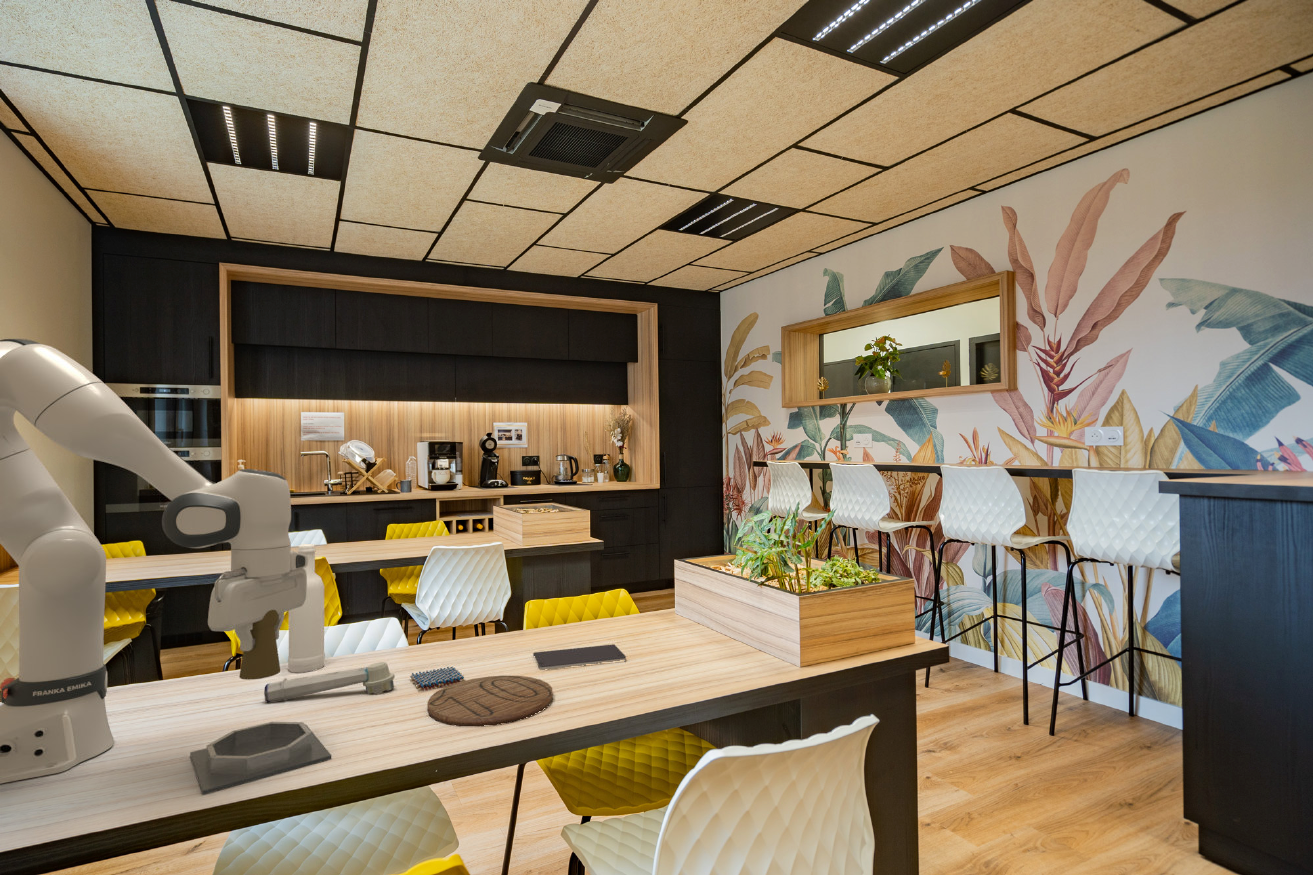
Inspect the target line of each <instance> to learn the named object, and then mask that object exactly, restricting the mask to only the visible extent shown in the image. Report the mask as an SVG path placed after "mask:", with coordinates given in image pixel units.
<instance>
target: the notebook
mask: <svg viewBox="0 0 1313 875" xmlns="http://www.w3.org/2000/svg"><path fill="white" fill-rule="evenodd" d="M532 655H533V656H535V657H534V659H535V662H536V661H537V662H536V664H537V663H538V664H537V666H538V669H539V670H540V669H541V670H545V669H555V670H559V669H558V668H564V669H566V668H565V667H571V666H582V665H586V664H598V663H602V662H613V661H620V660H625V661H626V658H627V656H626V655H625V654H624V653H623V651H621V649H619V648H618V647H617V645H616V644H613V643H612V644H603V645H594V646H586V647H575V648H567V649H566V648H565V649H554V650H546V651H544V650H543V651H535V652H533V653H532ZM582 667H583V666H582ZM541 670H540V671H541Z"/></svg>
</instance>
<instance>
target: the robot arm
mask: <svg viewBox="0 0 1313 875" xmlns="http://www.w3.org/2000/svg"><path fill="white" fill-rule="evenodd" d="M16 411H17V413H19V414H20V415H22V417H24V419H26V420H27V421H28V422H29V423H30V424H31V425H33V427H35V429H37V430H38V431H39V432H41V433H42V434H43V435H44V436H46V438H48V439H49V440H51V441H52V442H54V443H55V444H57V445H59V446H60V447H61V448H64V449H65V450H67V451H69V452H71V453H73V454H74V455H77V456H79V457H82V458H85V459H89V460H94V461H97V462H98V461H99V462H102V463H103V462H104V463H107V464H111V465H114V466H117V467H120V468H123V469H125V470H128V471H130V472H132V473H134V474H136V475H138V476H139V477H140V478H142V479H143V480H145V481H146V482H147V483H148V484H149V485H151V486H152V487H153V488H155V489H157V491H159V493H161V494H162V495H164V496H165V497H166V498H168V499H169V500H170V502H169V503H168V504H167V506H166V507H165V509H164V511H163V513H162V516H161V517H162V518H161V526H162V530H163V532H164V534H165V536H166V537H167V538H168V539H169V540H170V541H171V542H172V543H174V544H176V545H178V546H180V547H184V548H190V549H202V548H203V549H204V548H207V547H211V546H215V545H217V544H225V543H229V544H230V548H231V549H230V570H227V571H224V572H222V573H221V574H220V576H219V577H218V578H217V579H216V581H215V582H214V587H213V589H212V591H211V594H210V598H209V600H210V601H209V604H208V606H209V608H208V618H207V625H208V628H209V629H210V630H211V631H212V632H231V631H234V633H235V634H236V636H237V638H238V641H239V642H240V643H239V645H240V646H239V648H240V651H241V652H243V651H250V650H252V649H254V648H256V638H253V637H252V635H251V632H250V630H252V629H253V623H255V622H258V621H260V620H262V619H263V617H264V616H265V614H266V613H267V612H268V611H270V610H276V611H277V613H278V621H277V624H276V625H275V627H274V628H275V635H276V641H277V640H279V638H280V629H281V626H282V623H283V622H284V619H285V613H286V612H289V610H292V609H295V608H298V607H301V606H302V605H303V604H304V602H305V599H306V591H307V574H306V571H305V569H304V567H306V566H307V565H308V557H307V556H306V555H303V554H300V553H298V551H294V550H291V548H292V547H291V546H292V545H291V540H290V537H289V536H290V535H289V528H290V524H291V521H292V506H291V505H292V503H291V502H292V500H291V490H290V486H289V483H288V481H287V479H286V478H285V477H284V476H283V475H281V474H279V473H277V472H273V471H267V470H260V469H252V468H251V469H250V468H245V469H244V468H243V469H239V470H237V471H236V472H235V473H234V474H232V475H230V476H229V477H227V478H224V479H223V480H220V481H218V482H217V483H216V482H213V481H212V480H210V479H208V478H207V477H206V476H204V475H203V474H202V473H200V472H199V471H198V470H196V469H195V468H194V467H193V466H192V465H191V464H189V463H188V461H186V460H184V458H182V457H181V456H180V455H179V454H177V453H176V452H175V451H174V450H172V449H171V448H170V447H169V446H168V445H167V444H165V442H163V441H161V440H160V438H159V437H158V436H157V435H156V434H155V433H154V432H153V431H152V430H151V429H150V428H149V427H148V426H147V425H146V424H145V423H144V422H143V421H142V420H141V419H140V417H138V415H137V414H135V412H134V411H133V410H132V409H131V407H129V406H128V404H126V403H125V401H124V400H122V399H121V397H120V396H119V395H118V394H116V392H115V391H113V389H111V388H110V387H109V386H108V385H107V384H106V383H104V382H103V381H102V379H100V378H98V376H96V375H95V374H94V373H92V372H91V371H90V370H88V369H87V368H86V367H85V366H83V365H82V364H80V363H79V362H77V361H76V360H75V359H73V358H72V357H69V356H68V355H66V354H65V353H63V352H62V351H60V350H59V349H57V348H55V347H53V346H50V345H46V344H42V343H40V342H37V341H34V340H29V339H25V338H4V339H3V338H2V339H0V545H1V546H2V547H3V549H4V550H5V552H7V553H8V554H9V555H10V557H11V558H12V559H13V561H15V563H16V564H17V565H18V623H19V625H18V626H19V627H18V630H19V632H18V634H19V635H18V637H19V639H18V645H19V646H18V677H17V678H16V679H15V677H7V678H5V679H3V681H2V682H1V684H0V691H1V692H0V693H1V694H0V696H1V698H0V699H1V705H0V784H6V783H10V782H15V781H20V780H26V779H27V780H28V779H31V778H37V777H42V776H48V775H53V774H59V773H62V772H65V771H67V770H69V769H71V768H73V767H74V766H76V765H78V764H80V763H81V762H84V761H86V760H90V759H92V758H93V757H96V756H99V755H100V754H102V753H104V752H105V751H107V750H109V749H110V748H111V747H112V746H114V744H115V739H114V737H113V734H112V730H111V728H110V724H109V719H108V715H107V709H106V708H107V707H106V701H105V697H106V696H107V692H108V671H107V665H106V664H105V663H104V642H105V640H104V636H105V630H104V628H105V626H104V625H105V624H104V623H105V606H106V604H105V603H106V580H107V579H106V577H107V576H106V575H107V556H106V552H105V550H104V548H103V546H102V544H101V543H100V541H99V539H98V538H97V536H95V534H94V532H93V531H92V530H91V528H90V527H89V525H88V524H87V523H86V522H85V520H84V519H83V518H82V516H81V515H80V514H79V512H78V511H77V509H76V508H75V507H74V505H73V504H72V502H71V501H70V500H69V498H68V497H67V496H66V494H65V493H64V491H63V490H62V489H61V487H60V486H59V485H58V484H57V482H56V481H55V479H54V478H53V476H52V475H51V474H50V471H48V469H47V468H46V467H45V466H44V464H43V463H42V461H41V459H39V457H38V455H36V453H35V451H34V450H33V449H32V448H31V446H30V444H28V441H26V440H25V438H24V437H23V435H21V434H20V431H19V430H18V429H17V427H16V425H15V422H14V421H15V420H14V416H15V413H16Z"/></svg>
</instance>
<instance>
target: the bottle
mask: <svg viewBox="0 0 1313 875" xmlns="http://www.w3.org/2000/svg"><path fill="white" fill-rule="evenodd" d="M297 547H298V548H297V553H300V554H303V555H306V556H307V557H308V565H307V566H306V567H304V569H305V571H306V574H307V591H306V599H305V602H304V604H303V605H302V606H301V607H298V608H295V609H292V610H289V611H288V657H287V664H288V671H289V672H290V673H295V674H296V673H297V674H300V673H299V672H302V673H308V672H307V671H309V672H314V671H317V670H319V669H321V668H323V667H324V666H325V658H326V654H325V585H324V582H323V579H322V577H321V576H320V575H318V574H317V573H316V567H315V566H316V564H315V563H316V562H315V560H316V559H315V558H316V556H315V555H316V548H315V547H316V546H315V544H314V543H305V544H299V545H298V546H297ZM316 669H317V670H316ZM313 670H314V671H313Z"/></svg>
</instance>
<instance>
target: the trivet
mask: <svg viewBox="0 0 1313 875" xmlns="http://www.w3.org/2000/svg"><path fill="white" fill-rule="evenodd" d="M465 680H466V679H465ZM553 694H554V693H553V687H552V686H551V685H550V684H549V682H547V681H544V680H542V679H539V678H534V677H533V676H532V677H531V676H524V675H523V676H522V675H492V676H484V677H478V678H471V679H467V680H466V681H462V682H458V683H455V684H454V683H453V684H452V685H449V686H446V687H442V688H441V689H439V690H437V691H436V692H434V693H433V694H432V695H430V697H429V699H428V700H427V702H426V703H427V706H426V707H427V713H428V716H429V717H430V718H431V719H433V721H435V722H438V723H442V724H444V725H449V726H454V725H456V727H461V726H481V727H485V726H484V725H493V726H498V725H497V724H500V725H502V724H501V723H506V724H510V723H509V722H511V723H515V722H519V721H521V720H520V719H522V720H525V719H527V718H526V717H529V718H530V716H531V715H533V716H535V715H536V714H535V713H538V712H539V711H542V710H543V709H544V708H546V709H548V707H547V706H549V707H550V705H551V704H552V702H553V701H552V700H554V699H553ZM550 703H551V704H550ZM549 704H550V705H549ZM544 710H545V709H544ZM544 710H543V711H544ZM543 711H542V712H543ZM534 714H535V715H534ZM538 714H539V713H538ZM531 717H532V716H531ZM524 718H525V719H524ZM518 720H519V721H518ZM514 721H515V722H514Z"/></svg>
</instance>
